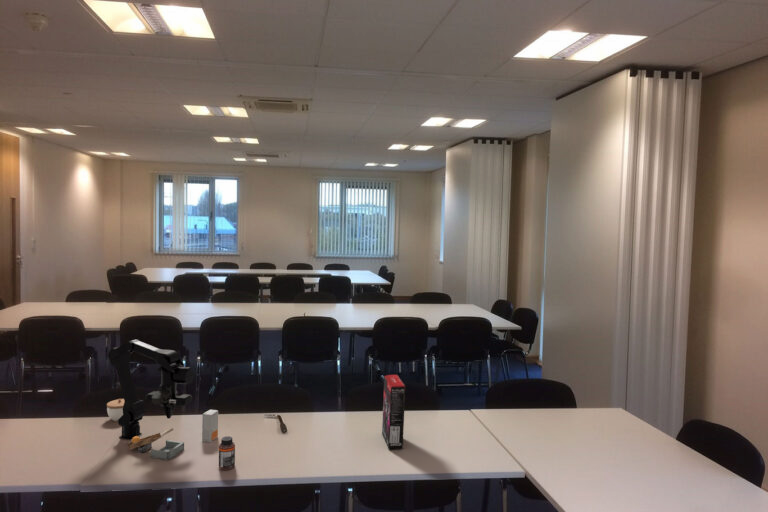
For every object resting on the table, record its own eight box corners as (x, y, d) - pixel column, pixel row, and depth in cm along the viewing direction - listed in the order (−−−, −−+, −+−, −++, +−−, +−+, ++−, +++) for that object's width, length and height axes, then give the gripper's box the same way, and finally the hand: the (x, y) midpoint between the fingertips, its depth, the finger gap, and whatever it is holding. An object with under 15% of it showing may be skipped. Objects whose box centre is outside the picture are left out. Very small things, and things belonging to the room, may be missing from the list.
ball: (129, 445, 208) (129, 437, 207) (135, 442, 211) (135, 434, 211) (136, 446, 207) (136, 438, 207) (142, 442, 210) (141, 435, 210)
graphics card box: (381, 434, 231) (382, 374, 229) (396, 433, 232) (397, 374, 230) (388, 450, 214) (390, 386, 212) (404, 449, 215) (406, 385, 214)
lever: (129, 449, 207) (127, 444, 207) (150, 437, 219) (148, 431, 219) (153, 442, 204) (151, 436, 204) (173, 429, 217) (171, 424, 217)
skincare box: (211, 442, 217) (211, 414, 216) (201, 441, 218) (202, 414, 217) (218, 437, 223) (218, 410, 222) (209, 436, 224) (209, 409, 223)
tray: (150, 457, 202) (150, 450, 201) (166, 447, 211) (166, 440, 211) (168, 460, 200) (168, 452, 200) (184, 449, 210) (184, 442, 209)
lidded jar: (125, 423, 235) (125, 403, 235) (101, 422, 236) (101, 402, 235) (136, 414, 246) (136, 395, 246) (114, 414, 246) (114, 395, 246)
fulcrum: (138, 453, 205) (138, 447, 205) (148, 447, 211) (148, 441, 211) (141, 453, 205) (141, 447, 205) (151, 447, 211) (151, 441, 211)
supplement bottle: (220, 463, 198) (220, 434, 197) (236, 463, 199) (236, 434, 198) (216, 470, 192) (217, 441, 192) (233, 470, 193) (233, 441, 192)
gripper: (136, 385, 209) (136, 422, 209) (176, 389, 205) (176, 427, 205) (154, 377, 220) (154, 413, 220) (193, 381, 215) (193, 417, 216)
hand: (168, 418), depth 215 cm, fingers closed
